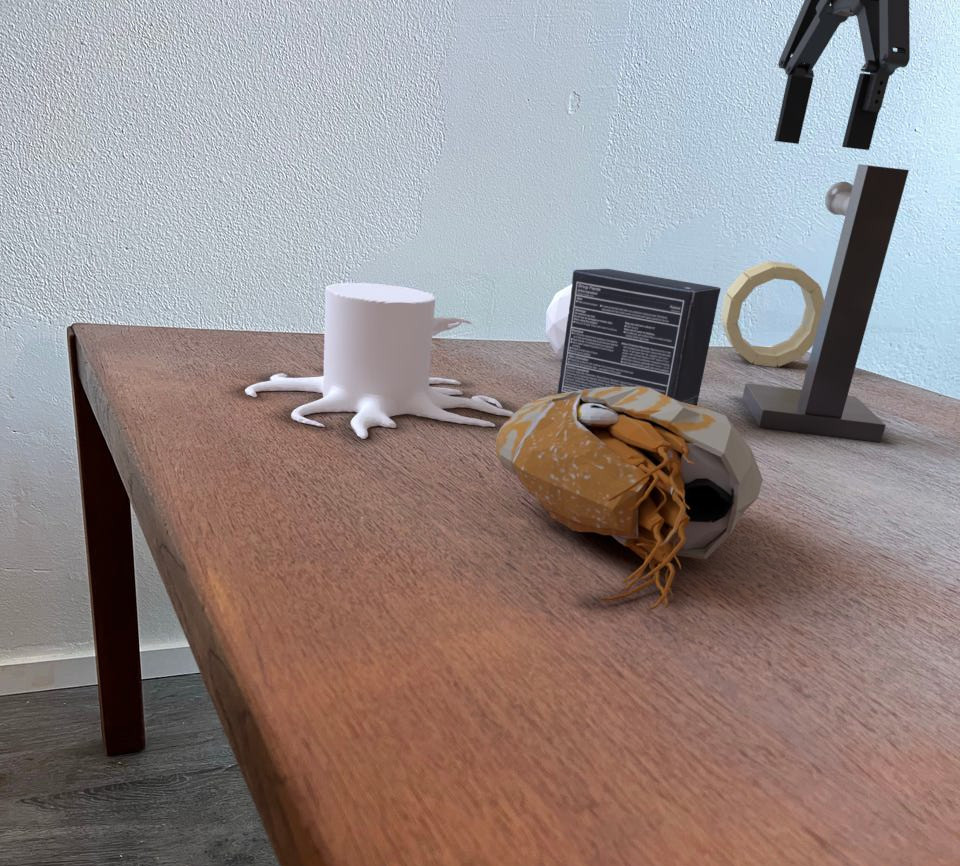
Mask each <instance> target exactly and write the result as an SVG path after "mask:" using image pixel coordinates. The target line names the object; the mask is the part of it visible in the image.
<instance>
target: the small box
mask: <svg viewBox="0 0 960 866" xmlns="http://www.w3.org/2000/svg"><path fill="white" fill-rule="evenodd" d="M571 284H572V290H571V299H570V307H569V314H568V320H567V327H566V335H565V342H564V350H563V357H561V358H562V359H561V364H560V373H559V378H558V386H557V391H556V394H561V393H567V392H573V391H579V390H586V389H592V388H602V387H647V388H651V389H653V390H655V391H657V392H659V393H661V394H664V395H666V396H668V397H670V398H672V399H675V400H677V401H680V402H683V403H687V404H691V405H695V406H698V402H699V397H700V393H701V388H702V382H703V377H704V373H705V367H706V362H707V358H708V354H709V353H708V352H709V349H710V348H709V347H710V342H711V338H712V334H713V328H714V322H715V318H716V312H717V309H718V303H719V297H720V293H721V289H722V288H721V287H718V286H714V285H709V284H708V285H706V284H703V283H702V284H700V283H695V282H689V281H683V280H677V279H672V278H665V277H660V276H654V275H648V274H641V273H636V272H629V271H623V270H617V269H612V268H591V269H589V268H588V269H574V270H573V272H572V279H571Z"/></svg>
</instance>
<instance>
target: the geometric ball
mask: <svg viewBox="0 0 960 866" xmlns="http://www.w3.org/2000/svg"><path fill="white" fill-rule="evenodd" d="M571 290H572V283H571V284H570V285H567V286H566V287H565V288H562V289H561V290H559V291H557V292H555V294H554V296H553V298H552V300H551V302H550V304H549V306H548V308H547V310H546V311H545V312H546V313H545V337H546V338H547V340H548V342H549V344H550V346H551V347H552V349H553V351H554V352H555V354H556V355H557V356H559V357H561V358H563V350H564V342H565V335H566V327H567V320H568V314H569V307H570V299H571Z"/></svg>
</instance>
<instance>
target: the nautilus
mask: <svg viewBox="0 0 960 866" xmlns="http://www.w3.org/2000/svg"><path fill="white" fill-rule="evenodd" d="M513 413H514V414H513V415H512V416H511V417H509V418H508V419H507V420H506V421H505V422H504V423H503V424H502V426H501V427H500V428H499V431H498V432H497V434H496V437H495V446H494V447H495V449H494V451H495V453H496V456H497V458H498V461H499V462H500V464H501V466H502V467H503V469H505V470H507V471H508V472H510V473H511V474H512V475H514V476H516V478H517V479H518V481H519V482H520V483H521V485H522V486H523V487H524V488H525V489H526V490H527V491H528V492H529V493H530V494H531V496H532V497H533V498H535V499H536V500H537V502H538V503H540V505H542V506H543V508H545V509H546V510H547V512H548V515H549V517H550V519H552V520H554V521H555V522H558V523H560V524H562V525H564V526H566V527H567V528H568V529H569V530H571V531H572V532H579V533H595V534H598V535H599V534H600V535H603V536H611V537H612V538H613V539H615V540H616V541H617V542H618V543H620V544H621V545H622V546H623V547H625V548H626V547H627V548H629V549H630V550H631V551H632V552H634V553H635V554H636V555H637V556H639V557H640V558H641V559H642V560H644V562H643V564H642V565H640V567H638V568H637V569H636V570H635V571H634V572H632V574H630V575H629V576H628V577H627V578H626V579H624V580H622V581H621V583H622V584H625V583H628V582H630V581H631V582H630V583H629V584H628V585H627V586H626V587H624V588H622V589H620V592H623V593H621V594H618V595H614V596H611V597H608V598H605V597H604V598H603V597H601V598H600V601H605V602H609V601H614V600H617V599H623V598H626V597H629V596H632V595H634V594H636V593H638V592H640V591H642V590H643V589H646V588H647V587H649V586H651V585H653V584H655V586H656V588H657V589H659V590H660V592H661V596H660V597H659V598H658V600H657V601H656V603H655V604H654V605H652V606H651V607H650V608H648V611H653V610H656V608H657V607H659V606H660V604H662V602H663V601H664V603H665V608H666V609H668V608H669V607H668V606H669V600H668V596H667V595H668V593H670V597H671V600H674V593H673V590H672V587H671V585H672V583H673V580H674V578H675V575H676V570H675V566H674V564H673V563H671V561H673V559H675V561H676V563H677V565H678V566H679V569H680V570H681V569H682V565H681V562H680V560H679V558H678V557H683V558H684V557H685V558H691V559H692V558H693V559H697V560H698V559H699V560H704V561H705V560H707V559H708V558H709V557H710V556H711V555H712V554H713V553H714V551H716V550H717V549H718V548H719V547H720V545H722V543H724V542H725V541H726V540H727V538H729V536H730V535H732V533H733V531H734V529H735V527H736V525H737V524H738V523H739V521H740V518H741V517H742V515H743V514H744V513H745V512H746V511H747V510H748V509H749V508H750V507H751V506H752V505H753V504H754V503H755V502H756V500H758V498H759V495H760V492H761V488H762V484H763V481H764V479H763V476H762V473H761V470H760V468H759V466H758V463H757V460H756V458H755V455H754V452H753V450H752V447H750V445H749V444H748V442H747V441H746V440H745V439H744V437H743V436H742V434H741V433H739V431H738V430H737V428H736V427H735V426H734V424H733V423H732V422H731V420H730V419H729V418H728V417H727V415H725V414H723V413H720V412H717V411H715V410H712V409H709V408H706V407H703V406H699V405H697V406H695V405H691V404H687V403H683V402H680V401H677V400H675V399H672V398H670V397H668V396H666V395H664V394H661V393H659V392H657V391H655V390H653V389H651V388H647V387H602V388H592V389H586V390H579V391H573V392H567V393H561V394H557V393H556V394H550V395H546V396H543V397H541V398H538V399H535V400H532V401H529V402H527V403H526V404H524V405H523V406H522V407H520V408H519V409H518V410H517V411H515V412H513ZM677 556H678V557H677ZM648 565H649V569H650V571H649V572H648V573H647V574H645V575H643V573H644V572H645V570H646V569H647V567H648ZM656 565H657V566H656ZM664 567H665V568H666V571H665V573H664V584H665V587H663V586H662V585H661V582H660V581H661V580H660V575H661V574H660V572H661V571H660V570H661V569H663V568H664ZM669 571H670V573H669ZM668 574H669V576H668ZM642 575H643V576H642ZM651 576H653V577H652V578H651V579H649V578H650V577H651ZM639 579H640V580H647V579H649V580H648V581H646V582H644V583H642V584H640V585H639V586H637V587H635V588H632V589H631V590H629V589H630V588H631V587H633V585H635V584H636V583H637V582H638V581H639ZM627 590H629V591H627ZM624 591H627V592H624Z"/></svg>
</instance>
